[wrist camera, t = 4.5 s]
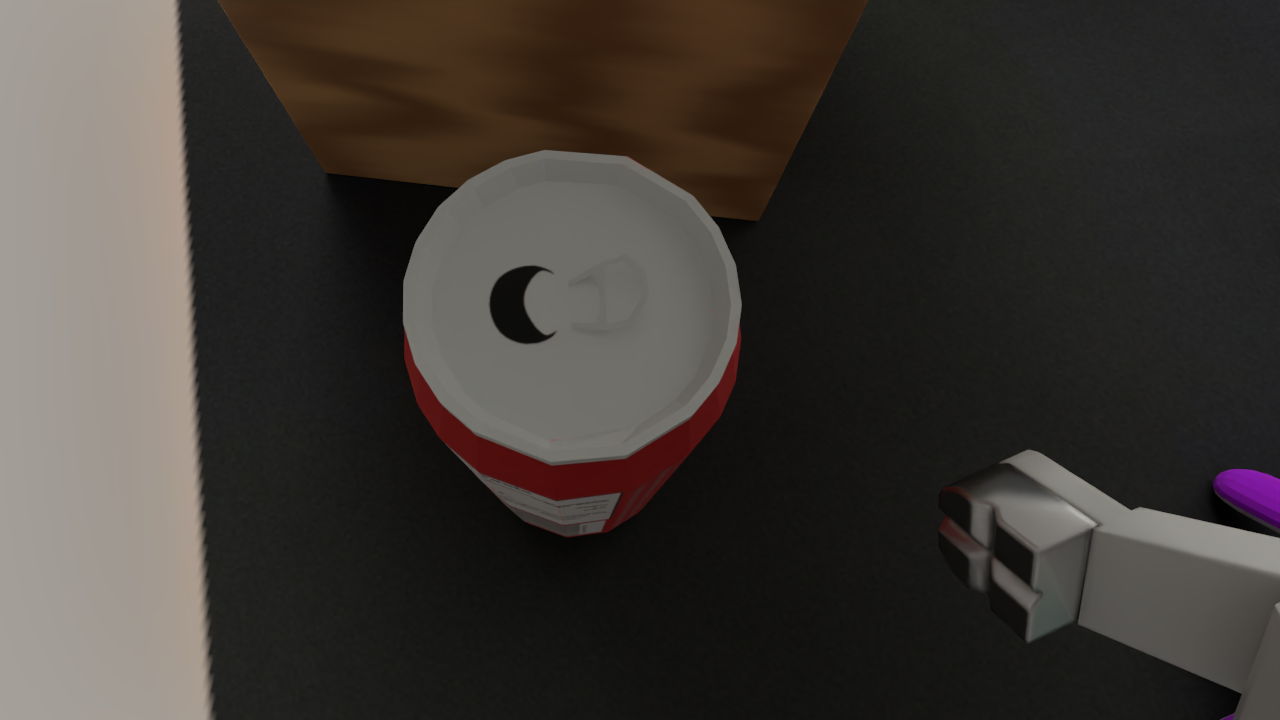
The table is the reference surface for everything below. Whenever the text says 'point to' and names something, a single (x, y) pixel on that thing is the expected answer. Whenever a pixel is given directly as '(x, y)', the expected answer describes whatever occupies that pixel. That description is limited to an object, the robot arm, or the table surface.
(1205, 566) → the robot arm
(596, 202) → the soda can
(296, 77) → the wooden planter base
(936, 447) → the table surface
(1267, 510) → the toy
